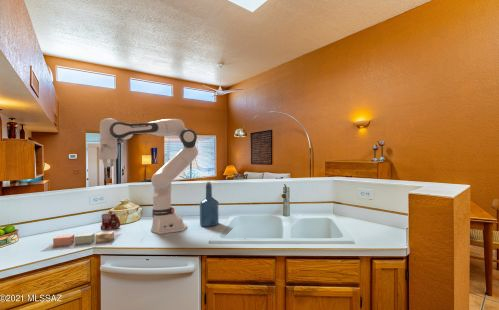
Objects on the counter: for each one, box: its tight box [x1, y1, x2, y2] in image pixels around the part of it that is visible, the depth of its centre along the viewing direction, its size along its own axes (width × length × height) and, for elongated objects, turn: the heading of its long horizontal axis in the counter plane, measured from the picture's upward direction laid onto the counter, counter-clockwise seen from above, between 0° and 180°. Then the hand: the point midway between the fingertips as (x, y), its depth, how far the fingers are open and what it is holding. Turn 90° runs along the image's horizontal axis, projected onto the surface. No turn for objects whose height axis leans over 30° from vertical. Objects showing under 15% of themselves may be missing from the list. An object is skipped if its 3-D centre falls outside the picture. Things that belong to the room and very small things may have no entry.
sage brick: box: [74, 232, 96, 244], centre depth 124 cm, size 8×4×4 cm, turn 104°
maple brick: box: [95, 230, 115, 242], centre depth 127 cm, size 8×4×4 cm, turn 104°
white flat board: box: [40, 233, 122, 252], centre depth 124 cm, size 32×17×1 cm, turn 104°
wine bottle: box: [199, 181, 220, 228], centre depth 157 cm, size 14×13×30 cm
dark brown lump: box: [100, 213, 121, 231], centre depth 149 cm, size 7×12×10 cm, turn 84°
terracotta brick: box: [52, 234, 75, 246], centre depth 122 cm, size 8×4×4 cm, turn 104°
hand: (108, 166), depth 138 cm, fingers open, 8 cm apart
